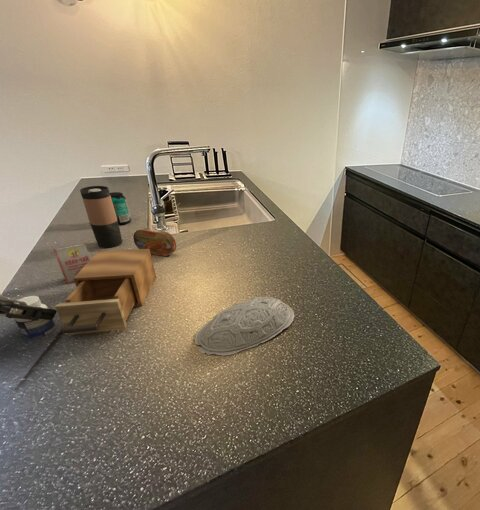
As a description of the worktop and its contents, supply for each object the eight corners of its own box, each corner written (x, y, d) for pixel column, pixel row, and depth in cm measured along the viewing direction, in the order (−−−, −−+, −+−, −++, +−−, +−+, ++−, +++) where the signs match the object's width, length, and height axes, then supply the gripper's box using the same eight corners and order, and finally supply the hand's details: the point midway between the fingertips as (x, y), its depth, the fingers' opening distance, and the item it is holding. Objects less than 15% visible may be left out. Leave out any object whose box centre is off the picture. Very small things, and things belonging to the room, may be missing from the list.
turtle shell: (307, 320, 79) (304, 298, 76) (210, 371, 64) (203, 346, 61) (276, 297, 89) (273, 277, 87) (187, 336, 75) (180, 313, 72)
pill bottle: (25, 335, 68) (7, 299, 64) (57, 325, 71) (41, 291, 67) (27, 349, 65) (8, 312, 60) (60, 337, 68) (44, 302, 64)
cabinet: (142, 305, 80) (133, 274, 76) (85, 310, 77) (73, 278, 72) (156, 277, 92) (149, 248, 88) (107, 280, 89) (98, 250, 85)
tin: (135, 250, 106) (129, 228, 102) (142, 247, 108) (137, 225, 105) (173, 258, 103) (168, 235, 99) (179, 254, 106) (175, 232, 102)
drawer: (117, 344, 66) (107, 316, 63) (54, 352, 63) (40, 322, 60) (142, 295, 82) (136, 270, 79) (93, 299, 79) (83, 274, 76)
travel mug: (121, 237, 114) (107, 184, 105) (125, 245, 109) (110, 190, 100) (96, 242, 109) (78, 187, 100) (98, 250, 104) (80, 193, 95)
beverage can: (118, 218, 129) (111, 191, 124) (135, 220, 129) (128, 192, 124) (106, 224, 123) (98, 195, 117) (124, 226, 123) (116, 197, 117)
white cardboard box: (65, 278, 88) (52, 247, 84) (93, 271, 93) (83, 241, 88) (66, 283, 86) (54, 252, 81) (96, 276, 90) (86, 246, 86)
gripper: (-106, 308, 52) (8, 321, 67) (-45, 328, 49) (59, 336, 64) (-78, 267, 54) (26, 288, 69) (-18, 283, 51) (76, 302, 67)
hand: (41, 311), depth 67 cm, fingers open, 6 cm apart
